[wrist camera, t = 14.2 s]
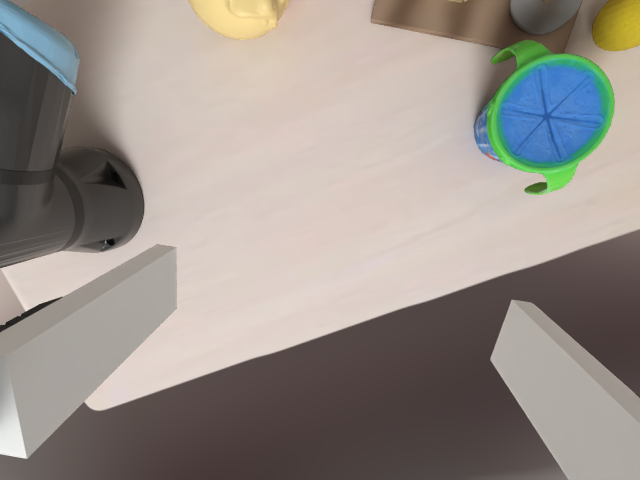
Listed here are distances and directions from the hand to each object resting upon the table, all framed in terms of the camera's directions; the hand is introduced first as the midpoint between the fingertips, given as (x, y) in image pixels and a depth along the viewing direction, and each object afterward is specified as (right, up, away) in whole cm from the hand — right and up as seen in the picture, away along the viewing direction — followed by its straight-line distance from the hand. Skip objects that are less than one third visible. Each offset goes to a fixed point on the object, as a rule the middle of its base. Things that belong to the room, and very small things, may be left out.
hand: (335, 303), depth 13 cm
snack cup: (+22, +16, +27) cm, 38 cm away
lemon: (+31, +26, +24) cm, 47 cm away
